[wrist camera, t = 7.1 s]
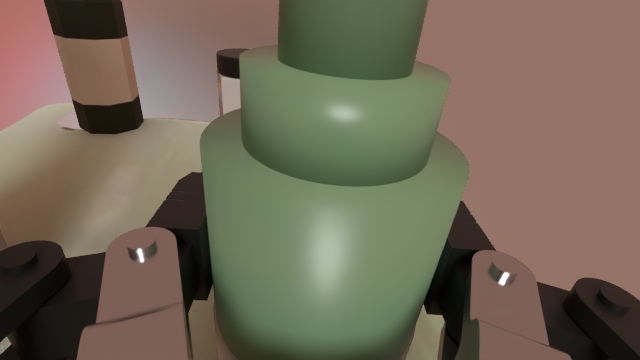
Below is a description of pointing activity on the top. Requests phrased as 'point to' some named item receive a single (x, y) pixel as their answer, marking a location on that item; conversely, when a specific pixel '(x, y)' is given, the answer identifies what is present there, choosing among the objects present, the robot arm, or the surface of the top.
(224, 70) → the jar
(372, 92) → the green bottle
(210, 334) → the top surface
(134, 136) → the top surface
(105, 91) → the wine bottle
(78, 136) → the top surface
